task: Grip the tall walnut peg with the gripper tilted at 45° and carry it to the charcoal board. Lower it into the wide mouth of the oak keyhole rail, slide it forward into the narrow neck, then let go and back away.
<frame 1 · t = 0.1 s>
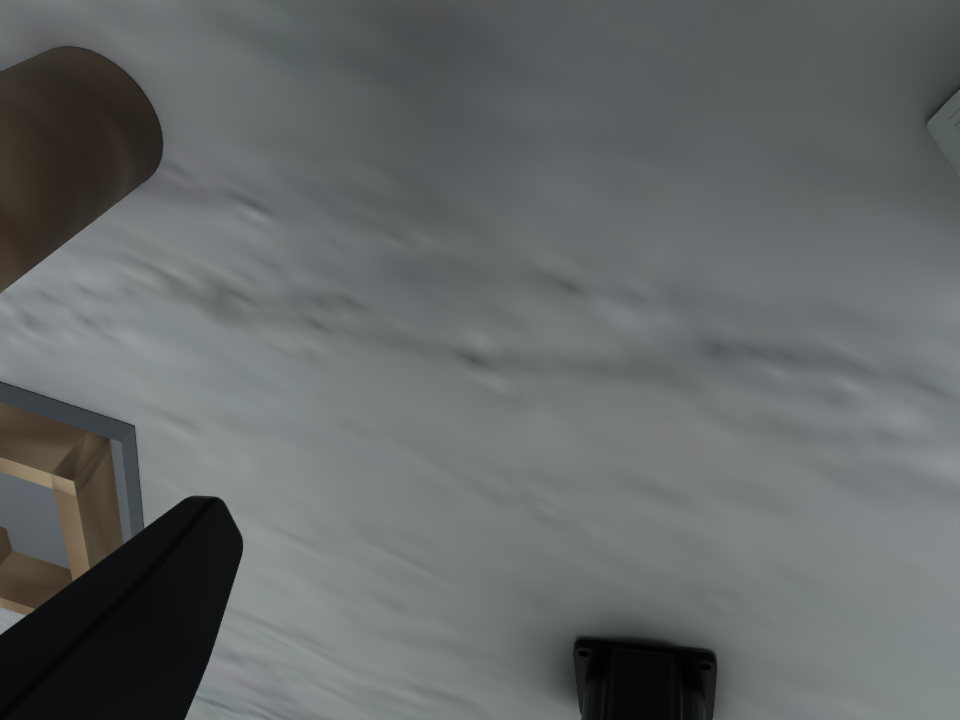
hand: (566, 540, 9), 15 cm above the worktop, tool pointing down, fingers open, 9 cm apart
keyhole plate: (7, 470, 37), on the worktop
walnut peg: (95, 120, 24), on the worktop
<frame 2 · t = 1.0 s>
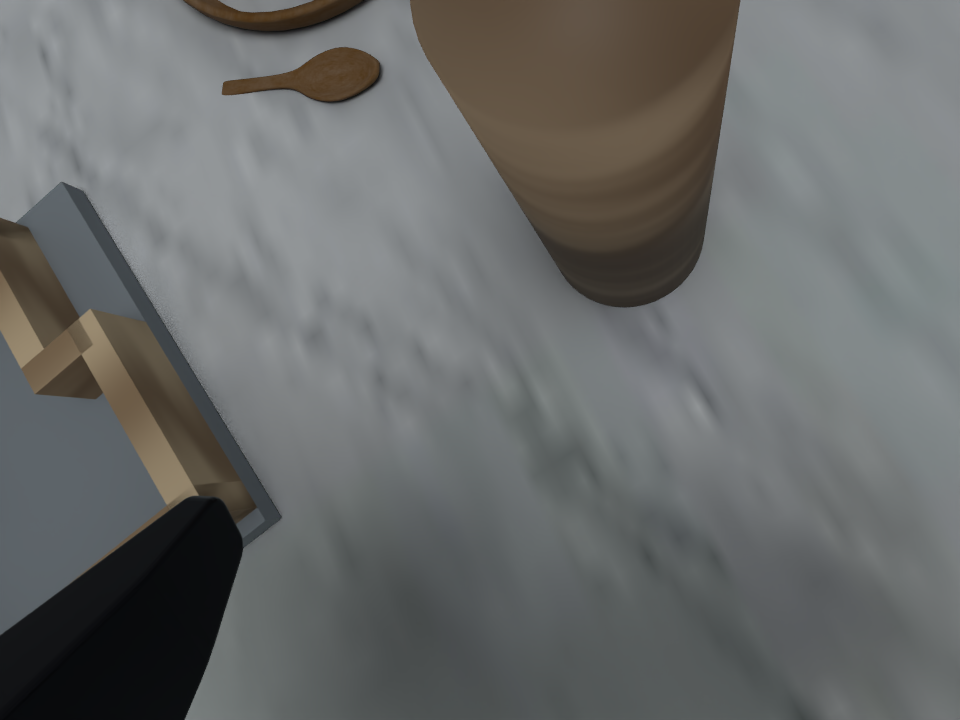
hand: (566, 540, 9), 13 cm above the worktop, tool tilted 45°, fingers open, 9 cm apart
keyhole plate: (46, 460, 27), on the worktop
walnut peg: (626, 233, 22), on the worktop
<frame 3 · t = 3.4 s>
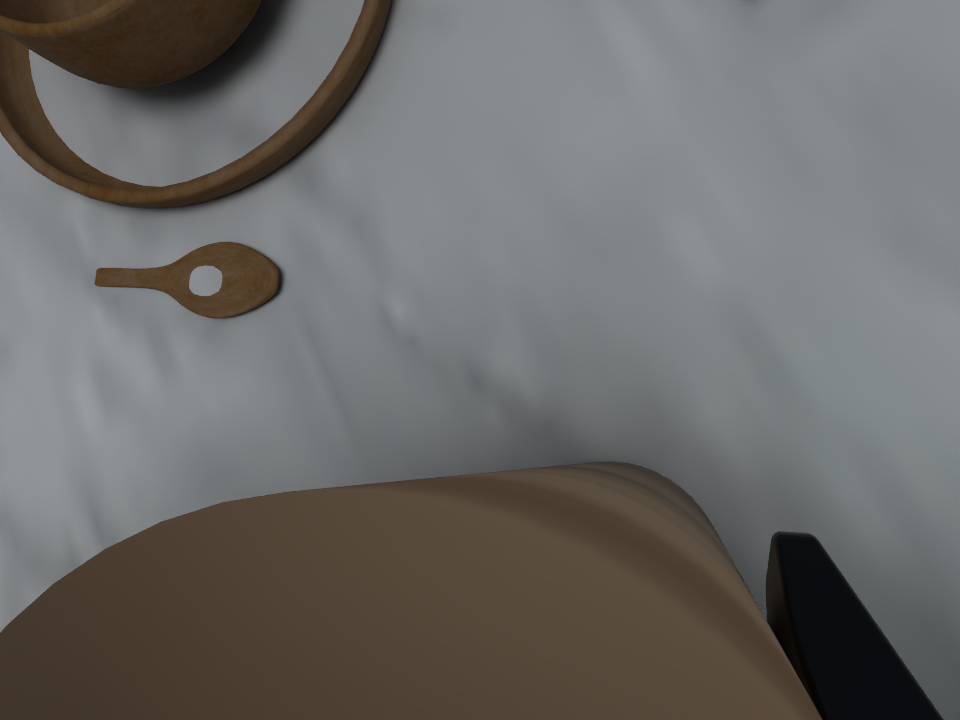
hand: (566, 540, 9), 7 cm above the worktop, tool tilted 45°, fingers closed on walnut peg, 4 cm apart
walnut peg: (610, 573, 15), on the worktop, touching gripper
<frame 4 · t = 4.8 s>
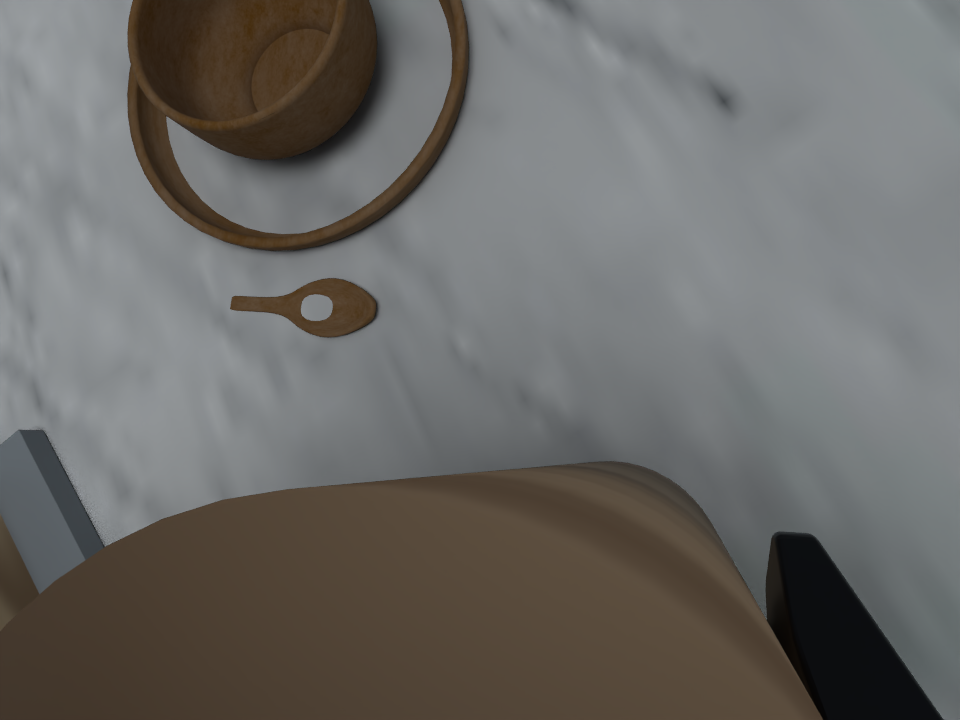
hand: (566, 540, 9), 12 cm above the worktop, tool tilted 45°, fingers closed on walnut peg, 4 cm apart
walnut peg: (610, 573, 15), point 6 cm above the worktop, touching gripper
place setting: (425, 84, 25), on the worktop
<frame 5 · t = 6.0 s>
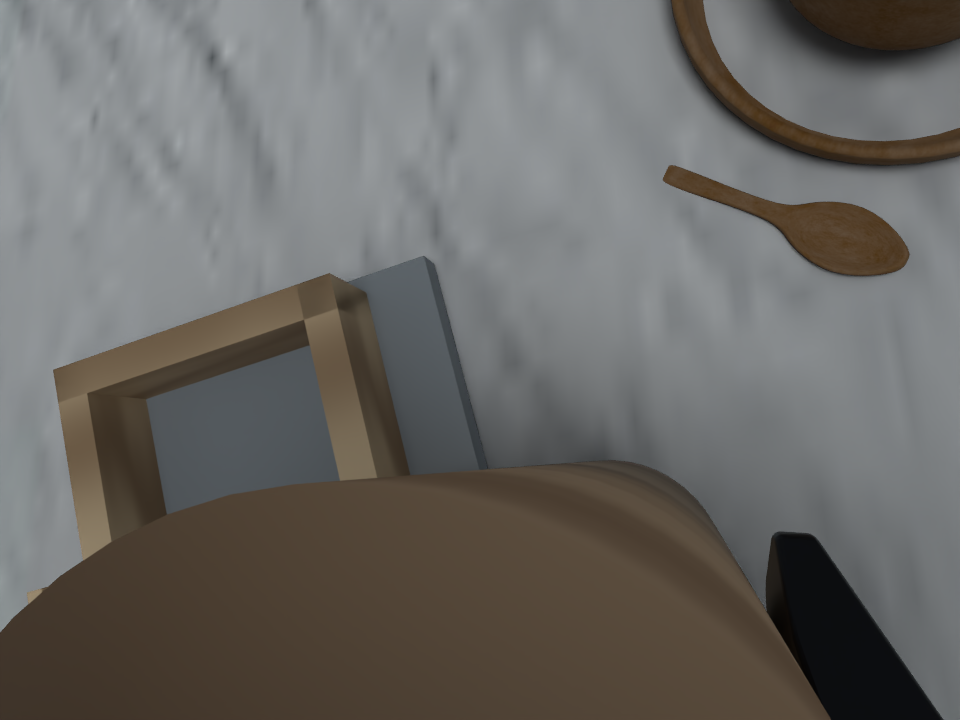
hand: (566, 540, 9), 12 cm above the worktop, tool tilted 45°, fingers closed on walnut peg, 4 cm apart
keyhole plate: (298, 557, 23), on the worktop
walnut peg: (612, 572, 15), point 6 cm above the worktop, touching gripper
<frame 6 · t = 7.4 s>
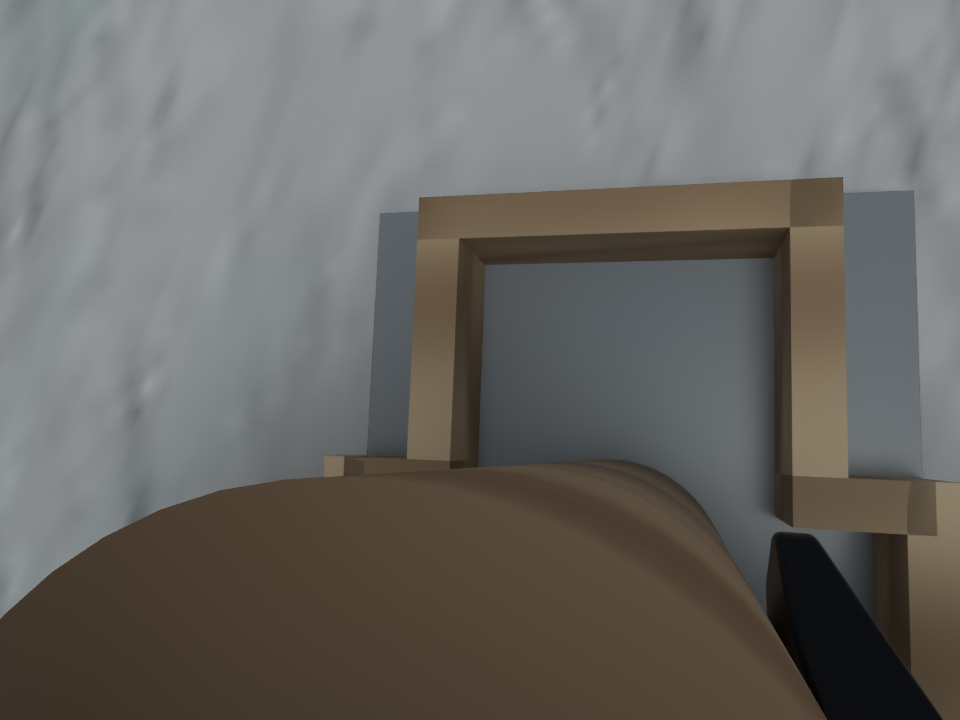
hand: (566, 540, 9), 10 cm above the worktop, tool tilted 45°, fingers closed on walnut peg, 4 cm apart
keyhole plate: (621, 505, 19), on the worktop
walnut peg: (610, 571, 15), point 4 cm above the worktop, touching gripper
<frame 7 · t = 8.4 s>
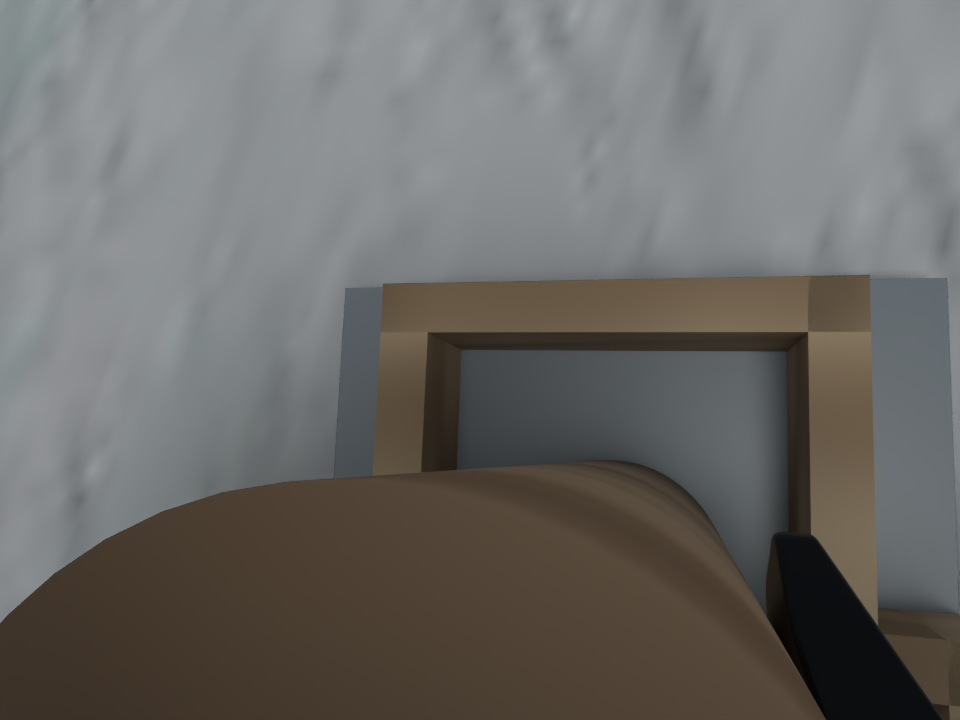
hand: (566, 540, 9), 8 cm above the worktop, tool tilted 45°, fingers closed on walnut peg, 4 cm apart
keyhole plate: (614, 624, 17), on the worktop
walnut peg: (610, 571, 15), point 2 cm above the worktop, touching gripper
when the fingers open (8 cm above the worktop, at t = 9.1 s): walnut peg stays where it is, resting on keyhole plate.
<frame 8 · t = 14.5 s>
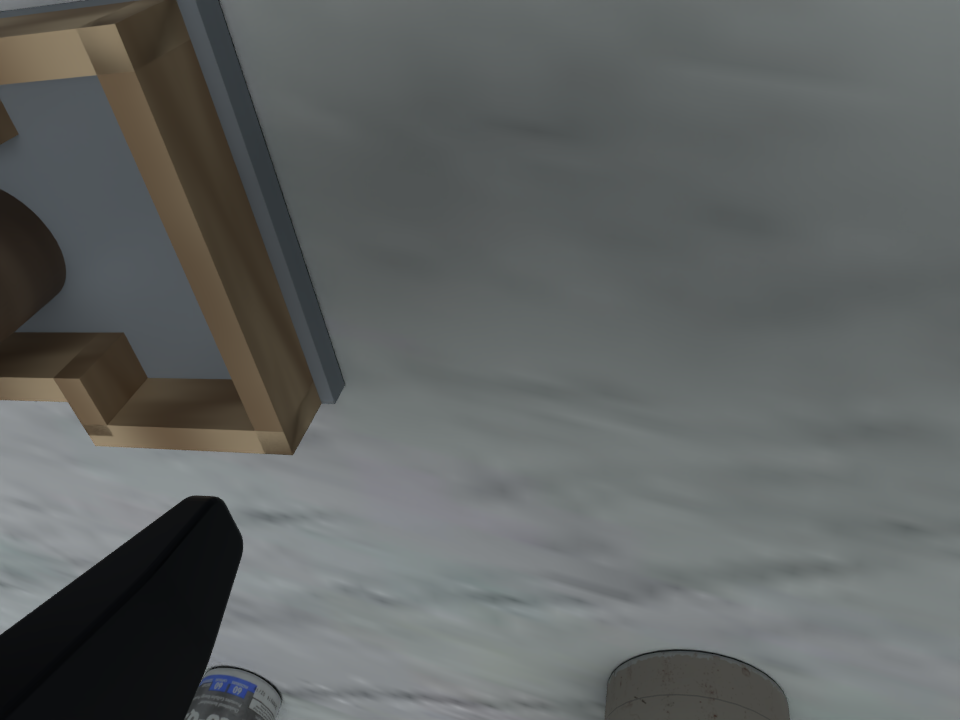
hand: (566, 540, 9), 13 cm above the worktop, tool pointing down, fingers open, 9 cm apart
keyhole plate: (94, 227, 24), on the worktop
pill bottle: (245, 684, 44), on the worktop
thermos bottle: (694, 694, 34), on the worktop
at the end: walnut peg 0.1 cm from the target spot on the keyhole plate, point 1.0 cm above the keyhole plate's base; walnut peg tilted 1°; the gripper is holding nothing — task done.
